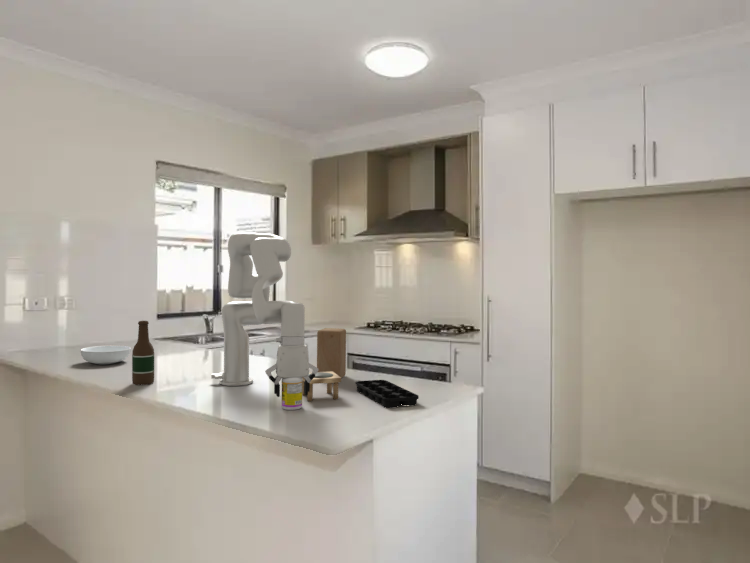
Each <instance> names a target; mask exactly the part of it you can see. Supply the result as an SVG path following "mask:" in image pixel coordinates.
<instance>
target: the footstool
mask: <svg viewBox="0 0 750 563" xmlns="http://www.w3.org/2000/svg"><path fill="white" fill-rule="evenodd" d="M311 373H312V372H309V375H310V374H311ZM309 375H308V376H309ZM302 379H303V383H302V396H307V400H306V401H307V402H313V400H314V397H313V396H314V395H313V394H314V390H313V389H314V385H315V384H316V385H318V384H326V394H328V395H329V394H332V393H333V394H332V399H333V400H339V383H342V378H341V377H340V376H338V375H337V374H335V373H334V372H333V371H330V372H317V374H316V375H315V377H314V378H313V379H312V380H311V382H310V391H309V392H308V395H305V394H304V382H305V378H304V377H302Z"/></svg>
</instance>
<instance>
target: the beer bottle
mask: <svg viewBox="0 0 750 563" xmlns="http://www.w3.org/2000/svg"><path fill="white" fill-rule="evenodd" d="M137 324H138V334H137V341H136V343H135V345H134V346H133V348H132V353H131V355H132V356H131V357H132V358H131V368H132V369H131V372H132V373H131V375H132V376H131V380H132V381H131V382H132V384H133V385H134V386H146V385H153V383H154V382H155V348H154V346H153V344H152V343H151V342H150V338H149V337H150V336H149V320H138V323H137Z"/></svg>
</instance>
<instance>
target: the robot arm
mask: <svg viewBox="0 0 750 563" xmlns="http://www.w3.org/2000/svg"><path fill="white" fill-rule="evenodd" d="M227 253H228V257H229V272H228V284H227V294H228V296H229V297H230V298H232V299H236V300H237V299H238V300H239V301H230V302H227V303H225V304H224V305H223V306H222V308H221V313H220V314H221V320H222V326H223V327H222V328H223V370H222V372H219V373H215V372H214V373H211V374H210V376H211V379H215V380H219V379H220V380H219V384H220V385H222V386H225V387H226V386H229V387H238V386H239V387H240V386H247V385H251V384H253V382H254V379H253V378H252V377H250V337H249V334H248V332H247V331H246V329H245V328H244V327H245V326H247V327H249V326H260V325H275V324H276V325H277V324H279V325H280V335H279V337H276V338H275V342H276V343H279V344H280V345H278V346H277V354H276V361H275V364H273V365H272V366H270V367H269V368H267V369H266V370H264V371H265V374H266V375H267V377H268V378H269V380H270V381H271V382H272V383H273V384H274V385H273V386H274V389H273V390H274V394H275V396H276V397H277V398H280V397H281V396H280V395H281V392H280V390H281V385H280V381H282V378H292V377H304V378H305V382H304V394H305V395H304V396H307V395H308V392H309V391H310V382H311V380H312V379H313V378H314V377H315V375H316V374H317V372H318V370H319V369H318V368H317V366H315V365H313V364H311V363H310V360H309V351H308V346H307V344H305V323H306V322H305V321H306V320H305V317H306V316H305V315H306V314H305V311H306V310H305V309H306V308H305V305H304V303H301V302H295V301H294V300H293V301H292V300H270V292H271V291H270V290H271V289H270V288H271V286H273V285H275V284H276V283H278V282H279V281H281V280H282V278H283V275H284V272H283V269H282V267H281V263H283V262H288V261H289V260H290V258H291V255H292V248H291V245H290V243H289V241H288V240H286V239H285V238H284V237H281V236H279V235H276V234H273V233H262V232H261V233H260V232H247V231H246V232H243V231H241V232H235V233H232V234H230V236H229V238H228V241H227ZM280 262H281V263H280ZM253 268H254V269H255V271H256V274H254V273H253ZM242 300H244V301H242ZM245 300H246V301H245ZM247 300H248V301H247ZM249 300H250V301H249ZM310 369H311V370H312V373H311V372H310ZM274 371H275V373H276V376H275V377H274V376H273V375H272V372H274ZM309 373H311V374H310V375H309ZM308 375H309V376H308Z"/></svg>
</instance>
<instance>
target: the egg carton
mask: <svg viewBox="0 0 750 563" xmlns="http://www.w3.org/2000/svg"><path fill="white" fill-rule="evenodd" d="M354 383H355V384H354V385H355V386H356V391H357V392H358V393H360V392H361V393H360V394H362V395H363V396H364V397H368V399H370V400H373V401H374V402H375V403H376V402H377V403H376V404H378V403H379V405H381V406H382V407H383V406H384V407H383V408H385V407H386V409H391V408H390V407H396V408H398V407H397V406H399V407H400V406H402V405H414V406H416V405H417V404H418V403H417V402H418V400H419V395H418V394H416V393H414V392H412V391H411V390H408V389H406V388H404V387H401V386H399V385H397V384H395V383H392V382H390V381H389V380H385V379H373V380H370V379H369V380H358V381H355V382H354ZM401 404H402V405H401ZM415 404H416V405H415Z"/></svg>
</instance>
